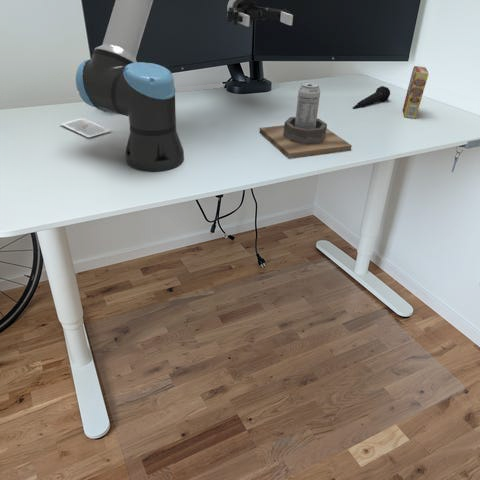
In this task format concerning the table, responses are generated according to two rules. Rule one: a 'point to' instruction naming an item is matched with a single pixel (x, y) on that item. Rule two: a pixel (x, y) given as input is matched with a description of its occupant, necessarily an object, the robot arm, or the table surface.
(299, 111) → the energy drink can
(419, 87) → the candy box
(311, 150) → the can dock
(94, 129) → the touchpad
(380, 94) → the microphone
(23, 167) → the table surface
